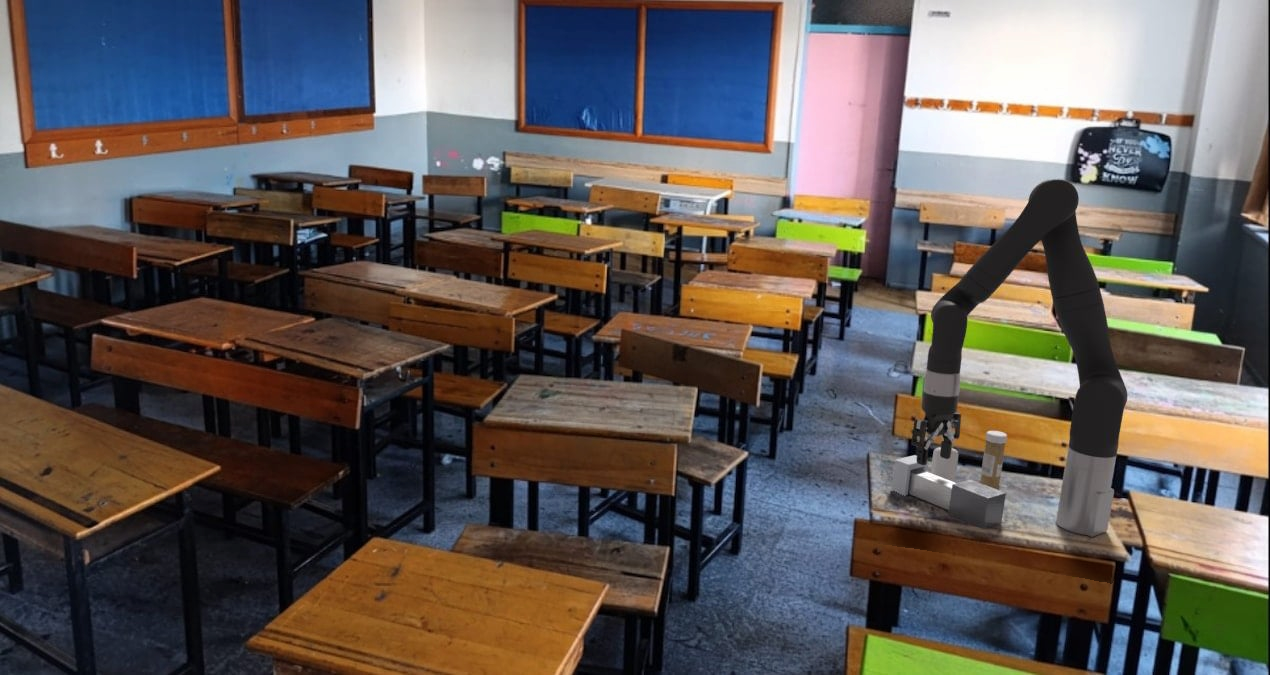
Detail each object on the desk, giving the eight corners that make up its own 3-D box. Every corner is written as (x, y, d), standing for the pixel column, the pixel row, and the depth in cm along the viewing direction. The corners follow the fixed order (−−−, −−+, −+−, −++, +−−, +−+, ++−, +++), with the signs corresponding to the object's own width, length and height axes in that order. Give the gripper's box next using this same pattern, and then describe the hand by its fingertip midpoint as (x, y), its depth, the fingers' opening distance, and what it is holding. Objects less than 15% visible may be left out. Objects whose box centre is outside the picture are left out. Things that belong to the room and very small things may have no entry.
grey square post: (971, 511, 208) (974, 490, 207) (960, 515, 206) (963, 493, 205) (911, 487, 220) (914, 467, 219) (900, 490, 218) (903, 469, 217)
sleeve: (1001, 522, 204) (1005, 493, 202) (983, 528, 200) (988, 498, 198) (965, 508, 210) (970, 479, 209) (948, 513, 207) (952, 484, 205)
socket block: (923, 490, 220) (928, 460, 218) (904, 496, 216) (908, 464, 214) (910, 485, 223) (914, 455, 221) (891, 490, 218) (895, 459, 217)
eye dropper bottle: (931, 476, 230) (937, 428, 227) (955, 480, 228) (962, 433, 225) (928, 481, 226) (935, 433, 223) (953, 486, 224) (959, 437, 221)
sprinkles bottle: (1002, 491, 223) (1011, 436, 220) (984, 490, 222) (992, 435, 219) (993, 483, 227) (1001, 430, 224) (975, 483, 226) (983, 429, 224)
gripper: (935, 398, 202) (927, 471, 205) (975, 390, 210) (967, 460, 214) (906, 390, 208) (899, 461, 211) (946, 383, 216) (938, 451, 220)
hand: (933, 461), depth 212 cm, fingers open, 8 cm apart
